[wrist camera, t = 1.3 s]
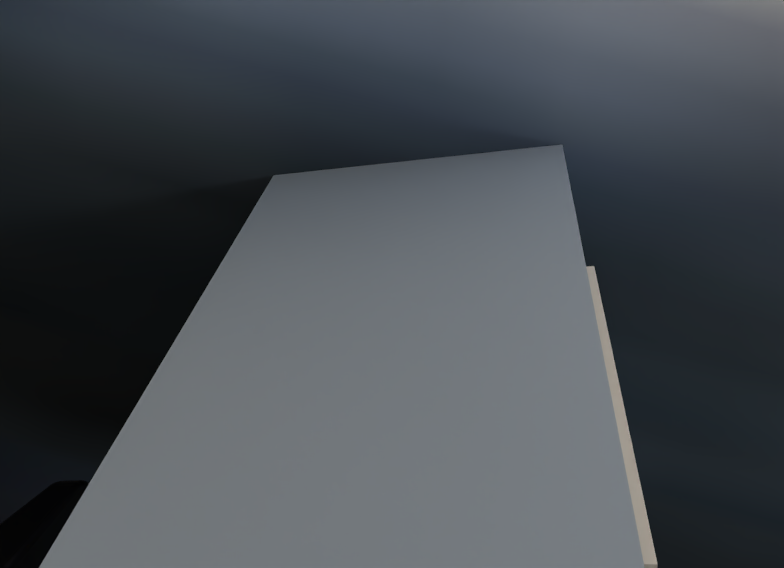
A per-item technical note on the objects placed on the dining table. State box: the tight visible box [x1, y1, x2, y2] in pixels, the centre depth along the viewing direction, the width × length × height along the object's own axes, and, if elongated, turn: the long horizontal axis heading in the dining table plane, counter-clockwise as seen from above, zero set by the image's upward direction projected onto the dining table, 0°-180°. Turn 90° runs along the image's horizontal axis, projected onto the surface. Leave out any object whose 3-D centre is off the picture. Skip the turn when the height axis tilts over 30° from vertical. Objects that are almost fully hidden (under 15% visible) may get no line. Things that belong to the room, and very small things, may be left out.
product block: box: [39, 145, 657, 568], centre depth 9 cm, size 4×6×7 cm
